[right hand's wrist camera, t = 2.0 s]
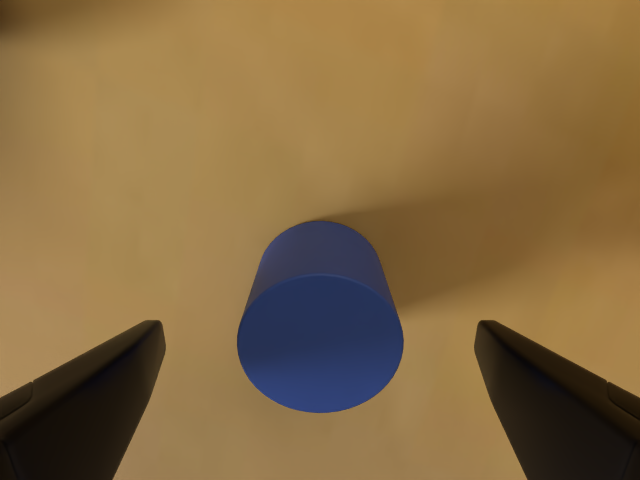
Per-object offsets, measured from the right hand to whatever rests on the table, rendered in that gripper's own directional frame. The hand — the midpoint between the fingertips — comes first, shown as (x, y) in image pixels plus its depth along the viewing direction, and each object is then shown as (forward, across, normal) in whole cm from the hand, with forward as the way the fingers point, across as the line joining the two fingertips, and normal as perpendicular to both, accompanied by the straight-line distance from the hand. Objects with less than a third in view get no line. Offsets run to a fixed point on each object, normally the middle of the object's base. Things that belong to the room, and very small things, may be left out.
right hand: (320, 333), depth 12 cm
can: (+3, 0, 0) cm, 3 cm away
